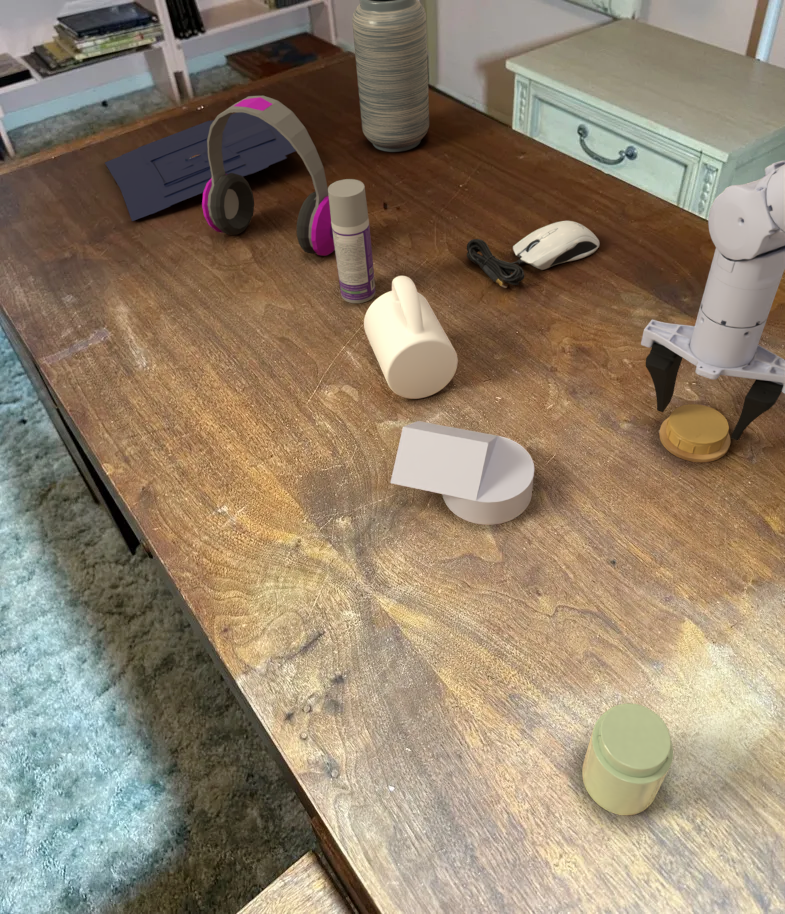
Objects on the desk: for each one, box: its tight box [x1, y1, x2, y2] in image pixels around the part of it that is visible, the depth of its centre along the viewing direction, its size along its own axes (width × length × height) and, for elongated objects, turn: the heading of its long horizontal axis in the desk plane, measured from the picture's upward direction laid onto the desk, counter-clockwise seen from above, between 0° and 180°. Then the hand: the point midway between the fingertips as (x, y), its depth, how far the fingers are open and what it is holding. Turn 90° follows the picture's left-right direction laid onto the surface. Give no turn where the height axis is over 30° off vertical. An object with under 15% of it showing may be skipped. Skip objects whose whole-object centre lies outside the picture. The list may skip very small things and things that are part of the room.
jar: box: [581, 702, 674, 816], centre depth 54 cm, size 5×5×7 cm
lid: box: [666, 403, 730, 454], centre depth 79 cm, size 6×6×2 cm
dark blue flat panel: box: [104, 112, 297, 222], centre depth 130 cm, size 24×30×4 cm
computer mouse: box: [466, 220, 601, 289], centre depth 104 cm, size 10×18×4 cm, turn 117°
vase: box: [351, 0, 430, 153], centre depth 126 cm, size 12×12×23 cm
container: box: [327, 178, 377, 304], centre depth 97 cm, size 5×5×15 cm
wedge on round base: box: [389, 420, 535, 526], centre depth 75 cm, size 9×7×13 cm
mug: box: [363, 275, 459, 400], centre depth 86 cm, size 8×10×12 cm
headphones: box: [201, 95, 335, 257], centre depth 106 cm, size 21×9×20 cm, turn 63°
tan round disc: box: [658, 416, 731, 463], centre depth 80 cm, size 7×7×1 cm
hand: (699, 419), depth 78 cm, fingers open, 7 cm apart
